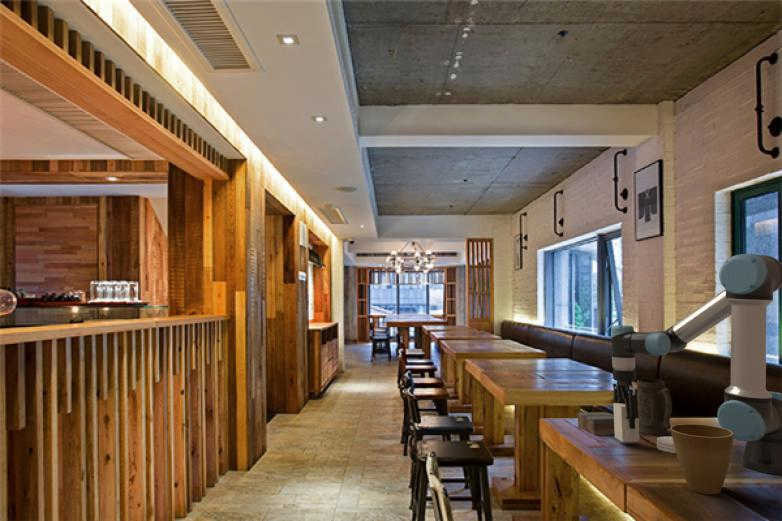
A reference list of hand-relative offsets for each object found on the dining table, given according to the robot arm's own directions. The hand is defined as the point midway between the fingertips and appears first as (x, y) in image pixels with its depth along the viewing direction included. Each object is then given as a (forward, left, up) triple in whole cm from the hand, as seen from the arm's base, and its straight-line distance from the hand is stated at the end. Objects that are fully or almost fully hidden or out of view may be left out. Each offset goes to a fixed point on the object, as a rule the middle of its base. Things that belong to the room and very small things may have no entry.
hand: (626, 435), depth 189 cm
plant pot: (-44, 0, -3) cm, 44 cm away
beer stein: (+14, -19, -3) cm, 24 cm away
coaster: (-7, -13, -4) cm, 15 cm away
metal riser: (+19, +1, -4) cm, 20 cm away
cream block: (0, 0, -1) cm, 1 cm away
